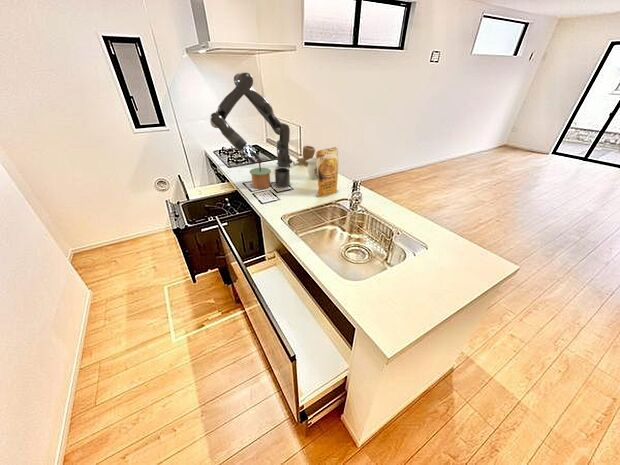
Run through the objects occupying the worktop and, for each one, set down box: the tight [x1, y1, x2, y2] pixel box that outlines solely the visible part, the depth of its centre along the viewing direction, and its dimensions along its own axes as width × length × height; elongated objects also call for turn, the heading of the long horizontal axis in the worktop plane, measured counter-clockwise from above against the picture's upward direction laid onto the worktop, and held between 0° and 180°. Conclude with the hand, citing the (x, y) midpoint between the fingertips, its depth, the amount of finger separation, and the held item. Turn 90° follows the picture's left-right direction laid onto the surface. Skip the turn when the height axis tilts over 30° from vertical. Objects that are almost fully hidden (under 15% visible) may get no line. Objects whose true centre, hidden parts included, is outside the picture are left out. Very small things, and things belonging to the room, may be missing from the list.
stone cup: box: [296, 145, 316, 167], centre depth 211 cm, size 15×12×15 cm
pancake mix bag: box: [315, 146, 339, 198], centre depth 158 cm, size 7×19×28 cm, turn 127°
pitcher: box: [306, 157, 318, 181], centre depth 185 cm, size 11×18×14 cm, turn 124°
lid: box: [249, 157, 272, 175], centre depth 167 cm, size 14×14×10 cm
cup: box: [274, 167, 291, 188], centre depth 173 cm, size 10×10×10 cm
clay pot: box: [250, 172, 271, 190], centre depth 171 cm, size 12×12×10 cm
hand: (256, 160), depth 165 cm, fingers open, 8 cm apart
